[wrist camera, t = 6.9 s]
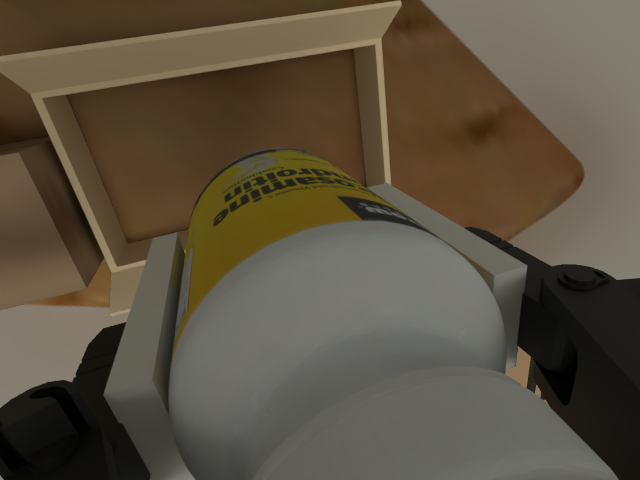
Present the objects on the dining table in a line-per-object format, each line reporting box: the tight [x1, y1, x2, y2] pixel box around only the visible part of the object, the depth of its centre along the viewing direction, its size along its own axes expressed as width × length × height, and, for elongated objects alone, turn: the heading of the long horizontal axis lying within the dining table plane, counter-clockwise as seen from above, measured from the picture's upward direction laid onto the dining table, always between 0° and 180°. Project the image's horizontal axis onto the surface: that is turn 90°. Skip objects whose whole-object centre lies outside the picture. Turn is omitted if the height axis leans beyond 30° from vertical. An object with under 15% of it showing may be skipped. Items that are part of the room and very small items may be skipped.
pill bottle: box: [168, 148, 619, 480], centre depth 9 cm, size 6×6×12 cm
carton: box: [0, 0, 402, 316], centre depth 28 cm, size 16×23×8 cm
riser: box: [0, 136, 104, 310], centre depth 25 cm, size 9×9×8 cm
